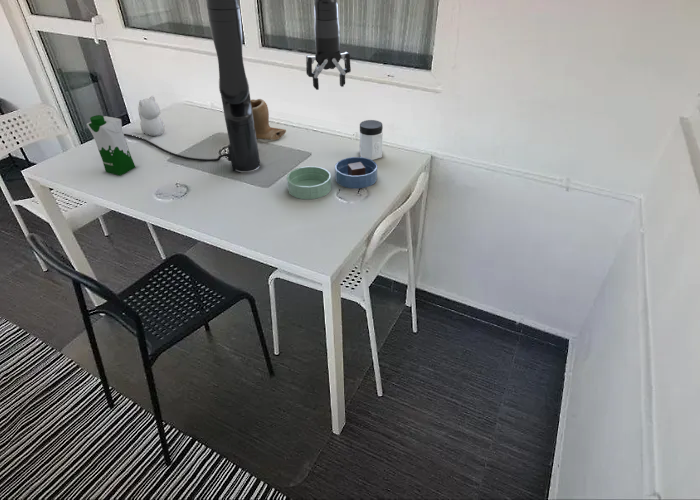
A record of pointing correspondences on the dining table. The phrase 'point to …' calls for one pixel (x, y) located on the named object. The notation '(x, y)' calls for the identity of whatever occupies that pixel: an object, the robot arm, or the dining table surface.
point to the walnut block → (356, 169)
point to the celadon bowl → (309, 182)
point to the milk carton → (111, 144)
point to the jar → (371, 139)
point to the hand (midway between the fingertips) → (329, 87)
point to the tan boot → (264, 122)
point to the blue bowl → (356, 181)
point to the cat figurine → (150, 117)
